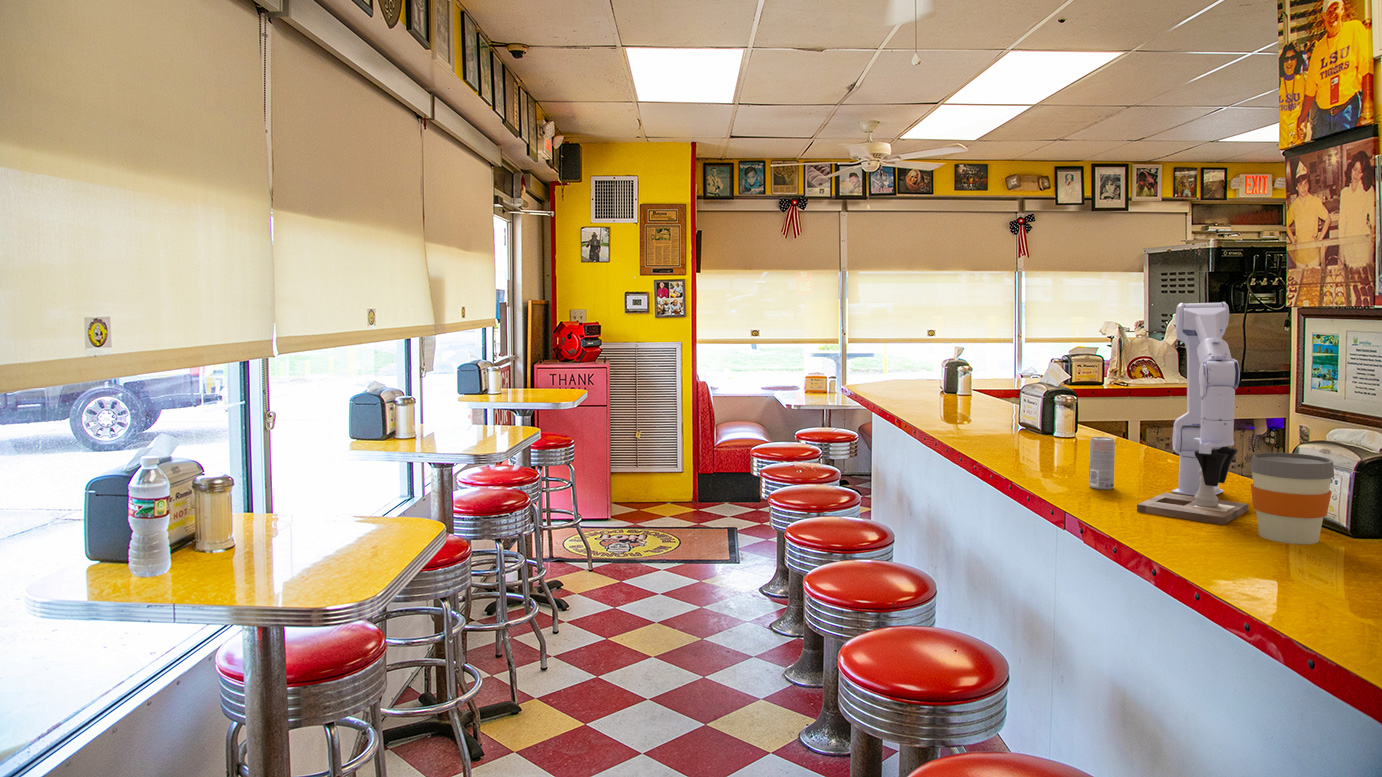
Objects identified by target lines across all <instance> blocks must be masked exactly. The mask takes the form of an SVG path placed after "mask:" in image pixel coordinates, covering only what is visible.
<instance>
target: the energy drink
mask: <svg viewBox="0 0 1382 777" xmlns="http://www.w3.org/2000/svg"><path fill="white" fill-rule="evenodd" d="M1115 442H1116V441H1115V439H1114V437H1113V438H1112V437H1109V436H1108V437H1106V436H1094V437H1091V438H1090V440H1089V462H1088V463H1089V464H1088V465H1089V466H1088V467H1089V469H1088V470H1089V471H1088V472H1089V474H1088V476H1089V477H1088V486H1089V487H1090V488H1091V489H1095V490H1104V491H1105V490H1107V491H1108V490H1113V489H1114V486H1115V485H1114V484H1115V457H1116V456H1115V455H1116V454H1115V450H1116V449H1115V448H1116V443H1115Z"/></svg>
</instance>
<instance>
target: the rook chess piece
mask: <svg viewBox="0 0 1382 777" xmlns="http://www.w3.org/2000/svg"><path fill="white" fill-rule="evenodd" d="M1198 472H1199V473H1200V475H1201V477H1200V478H1199V479H1200V486H1199V490H1198V492H1197V494H1196V495H1195V496H1194V498H1195V501H1194V503H1195V505H1197V506H1201V507H1217V506H1218V505H1219V504H1218V503H1217V501H1218V500H1219V497H1217V495H1216V494H1215V491H1214V486H1208V485H1205V482H1204V478H1203V474H1202V469H1201V467H1200V470H1199V471H1198Z"/></svg>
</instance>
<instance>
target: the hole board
mask: <svg viewBox="0 0 1382 777" xmlns="http://www.w3.org/2000/svg"><path fill="white" fill-rule="evenodd" d="M1194 501H1195V498H1194V496H1192V495H1185V494H1177V493H1172V492H1171V493H1169V492H1163V493H1161V494H1158V495H1156V496H1153V497H1152V498H1149V499H1147V500H1144V501H1142V502H1139V503H1137V504H1136V511H1137V512H1138V513H1139V512H1140V513H1145V514H1150V515H1151V514H1152V515H1153V514H1154V515H1156V516H1157V515H1159V516H1165V517H1170V518H1171V517H1172V518H1178V519H1184V520H1190V521H1197V522H1201V523H1210V524H1215V525H1221V526H1224V525H1226V524H1227V523H1230V522H1231V521H1232V520H1234V519H1236V518H1238V517H1240V516H1241V515H1244V514H1245V513H1247V512H1248V511H1249V503H1244V502H1237V501H1230V500H1229V501H1228V500H1223V499H1222V500H1221V499H1218V501H1217V503H1218V504H1219V505H1218V506H1217V507H1201V506H1197V505H1195V503H1194Z"/></svg>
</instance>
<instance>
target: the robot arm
mask: <svg viewBox="0 0 1382 777" xmlns="http://www.w3.org/2000/svg"><path fill="white" fill-rule="evenodd" d="M1229 320H1230V309H1229V305H1228V304H1227V303H1226V301H1221V302H1198V303H1196V302H1195V303H1193V302H1190V303H1184V302H1179V303H1178V305H1177V306H1176V310H1175V336H1176V340H1177V341H1180V342H1182V343H1183V344H1184V345H1185V350H1186V377H1187V378H1186V383H1187V384H1186V396H1187V397H1186V406H1187V408H1186V410H1187V412H1185V413H1184V414H1182V415H1180V416H1179V417H1177V418H1176V419H1175V420H1174V422H1173V429H1172V435H1171V436H1172V439H1171V440H1172V441H1171V443H1172V449H1173V451H1174V452H1175V453H1177V454H1178V455H1179V460H1178V461H1179V463H1178V464H1179V465H1178V488H1175V489H1172V490H1171V493H1172V494H1179V495H1186V496H1195V495H1196V494H1197V492H1198V490H1199V486H1200V479H1199V478H1200V477H1201V475H1200V473H1199V472H1198V471H1199V470H1200V467H1201V469H1202V474H1203V478H1204V482H1205V485H1208V486H1214V491H1215V494H1216V496H1217V495H1220V494H1221V493H1223V492H1224V489H1221V488H1220V484H1225V482H1226V479H1227V476H1228V474H1229V470H1230V466H1231V464H1232V461H1233V459H1234V457H1235V456H1236V454H1238V449H1237V448H1232V447H1233V446H1234V445H1235V441H1234V428H1235V426H1234V425H1235V400H1236V395H1235V394H1236V389H1238V387H1239V384H1240V376H1241V373H1240V372H1241V371H1240V370H1241V369H1240V364H1239V362H1238V360H1237V359H1235V358H1232V355H1231V354H1232V353H1231V351H1230V348H1229V344H1228V342H1227V341H1225V340H1224V339H1223V336H1224V335H1225V332H1226V330H1227V327H1228V326H1229Z"/></svg>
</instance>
